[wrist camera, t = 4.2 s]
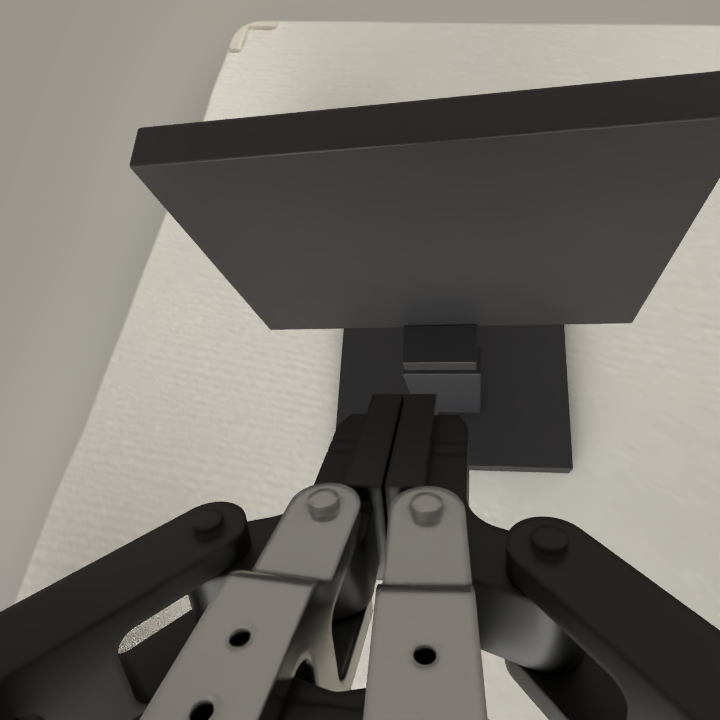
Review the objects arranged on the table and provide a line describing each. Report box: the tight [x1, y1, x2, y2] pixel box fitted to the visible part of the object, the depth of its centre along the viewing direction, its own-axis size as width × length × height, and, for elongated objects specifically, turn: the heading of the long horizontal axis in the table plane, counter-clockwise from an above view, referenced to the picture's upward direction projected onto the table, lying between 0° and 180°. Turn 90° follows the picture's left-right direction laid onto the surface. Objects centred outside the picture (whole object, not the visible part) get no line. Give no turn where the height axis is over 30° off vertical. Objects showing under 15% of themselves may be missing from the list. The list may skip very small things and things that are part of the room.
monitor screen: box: [130, 71, 720, 370], centre depth 21 cm, size 3×16×13 cm, turn 87°
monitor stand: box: [336, 324, 573, 473], centre depth 31 cm, size 10×13×8 cm
